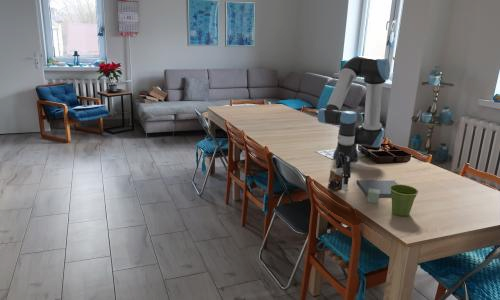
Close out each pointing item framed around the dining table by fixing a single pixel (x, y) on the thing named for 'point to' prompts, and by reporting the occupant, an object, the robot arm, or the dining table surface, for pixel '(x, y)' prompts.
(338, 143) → the robot arm
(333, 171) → the walnut block
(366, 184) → the slate mat
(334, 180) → the pottery mug
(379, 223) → the dining table surface
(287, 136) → the dining table surface
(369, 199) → the sage block
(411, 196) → the plant pot
